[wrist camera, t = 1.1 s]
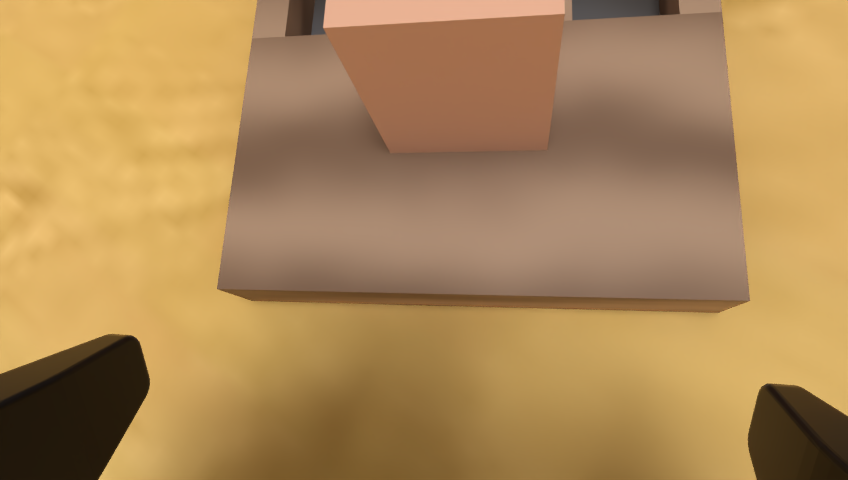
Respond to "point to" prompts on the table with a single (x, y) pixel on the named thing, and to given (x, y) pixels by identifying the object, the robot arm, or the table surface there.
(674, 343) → the table surface
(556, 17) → the block
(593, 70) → the brown piece
